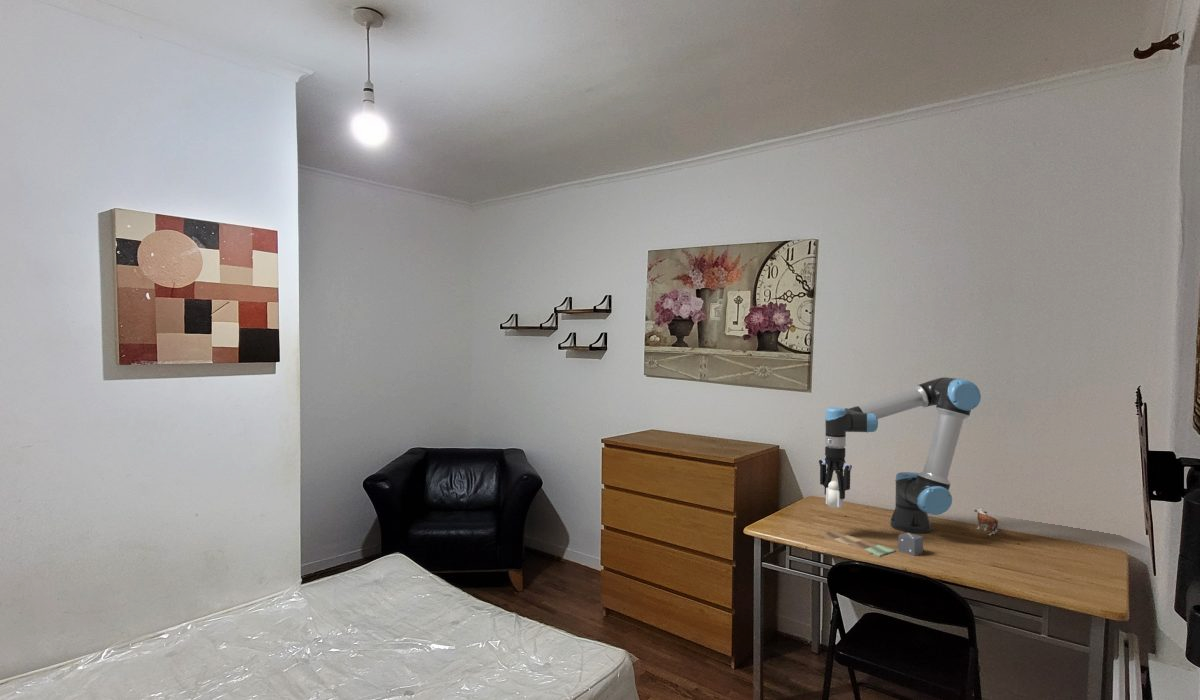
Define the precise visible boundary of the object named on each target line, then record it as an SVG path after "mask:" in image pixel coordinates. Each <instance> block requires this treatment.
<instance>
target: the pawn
mask: <svg viewBox="0 0 1200 700" xmlns="http://www.w3.org/2000/svg"><path fill="white" fill-rule="evenodd" d="M838 490H839V485H838V480H831V482H830V483H829V484H828V504H827V507H828V508H831V509H840V508H841V507H837V491H838Z"/></svg>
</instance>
